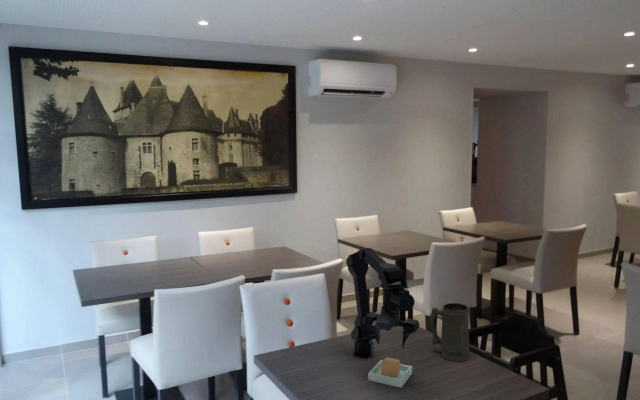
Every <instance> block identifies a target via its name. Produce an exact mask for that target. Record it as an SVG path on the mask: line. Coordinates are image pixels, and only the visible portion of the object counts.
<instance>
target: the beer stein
mask: <svg viewBox="0 0 640 400" xmlns="http://www.w3.org/2000/svg"><path fill="white" fill-rule="evenodd" d="M469 314H470V309H469V307H468V306H467V305H465V304H463V303H456V302H451V303H450V302H449V303H445V304H443V305H442V309H441V310H440V309H439V308H437V307H431V314H430V317H429V319H428V320H429V322H428V323H429V329H430V331H431V334H432V337H433V338H432V340H431V343H432V345H440V348H441V351H440V355H441V357H442V358H444V359H446V360H448V361H453V362H463V361H468V360H469V359H470V356H471V355H470V337H469V336H470V332H469ZM437 316H441V318H442V319H441V337H440V338H439V336H438V333H437V329H436V317H437Z"/></svg>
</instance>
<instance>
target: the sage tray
mask: <svg viewBox="0 0 640 400" xmlns="http://www.w3.org/2000/svg"><path fill="white" fill-rule="evenodd" d="M383 360H384V359H380V360H379V361H378V362H377V363H376V364H375V365H374V367H373V368H372V369H370V371H369V372H368V373H367V374H368V375H367V380H368V381H369V382H374V383H378V384H379V383H380V384H383V385H388V386H393V387H397V388H401V389H402V388H403V386H404V385H405V384H406V382H407V381H408V379H409V378H410V377H411V375H412V374H413V366H412V365H406V364H402V363H400V374H399V375H398V376H397V377H396V378H392V377H388V376H383V375H381V362H382V361H383Z"/></svg>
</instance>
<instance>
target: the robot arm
mask: <svg viewBox="0 0 640 400" xmlns="http://www.w3.org/2000/svg"><path fill="white" fill-rule="evenodd" d="M345 264H346V266H347V271H348V272H349V274H350V275H351V276H352V279H353V287H354V295H355V303H356V310H357V316H356V317H355V319H354V328H353V329H352V330H351V332H350V337H351V339H352V341H354V352H353V353H352V356H356V357H360V358H366V359H369V358H370V357H371V356H372V355H373V353H374V352H375V351H374V342H373V340H376V344H378V345H379V344H380V342H381V330H383V331H386V332H387V331H388V332H389V331H391V330H392V329H393V328H396V327H402V330H403V331H402V341H401V342H402V343H401V348H402V349H403V350H404V349H405V348H406V347H405V346H406V344H407V342H408V340H409V337H410V335H412V333H413V334H414V333H416V332H417V330H419V328H420V322H419V321H418V319H413V318H407V319H406V320H404V321H403V320H400V319H401V315H400V310H401V311H403V312H410V311H411V310H412V309H414V306H415V302H416V301H415V298H414V297H413V295H412V294H410V290H409V289H408V287H409V286H408V281H407V279H406V278H405V275H404V272H403V270H402V269H401V268H400V266H398V265H396V264H394V263H388V262H387V261H385V260H384V259H383V258H381V256H379V255H378V254H377V253H376V252H375V251H374V249H373V248H370V247H368V248H360V249H359V250H358V251H356V252H354V253H351V254H349V255H348V257H347V258H346V259H345ZM370 267H371V268H372V269H373V270H374V271H375V272H376V273H377V279H378V280H379V281H380V283H381V284H380V285H379V287H380V288H382V306H381V307H380V308H381V309H380V312H379V313H375V312H371V310H370V302H369V295H368V285H367V278H366V276H367V273H368V271H369V268H370Z"/></svg>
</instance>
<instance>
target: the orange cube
mask: <svg viewBox="0 0 640 400" xmlns="http://www.w3.org/2000/svg"><path fill="white" fill-rule="evenodd" d="M382 360H383V361H382V362H381V375H383V376H388V377H392V378H396V377H397V376H398V375H399V374H400V364H401V363H400V362H401V361H400V359H396V358H392V357H385V358H384V359H382Z"/></svg>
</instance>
